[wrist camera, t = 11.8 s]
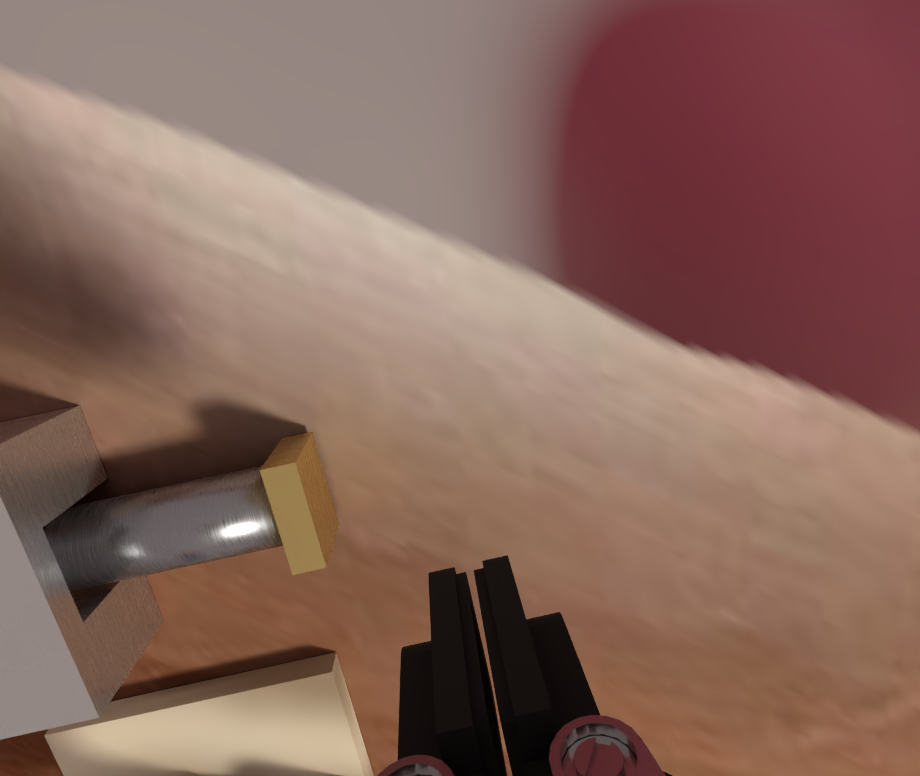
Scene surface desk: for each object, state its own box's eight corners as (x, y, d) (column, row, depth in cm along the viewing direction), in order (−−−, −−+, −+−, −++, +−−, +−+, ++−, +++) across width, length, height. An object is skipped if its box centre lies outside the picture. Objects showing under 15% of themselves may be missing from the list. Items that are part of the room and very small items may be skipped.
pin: (339, 524, 23) (326, 567, 20) (112, 572, 23) (65, 624, 20) (312, 431, 22) (295, 462, 19) (75, 482, 22) (19, 521, 19)
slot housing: (163, 621, 24) (99, 717, 19) (20, 653, 24) (-80, 757, 19) (79, 405, 22) (-19, 453, 17) (-80, 439, 22) (-225, 496, 17)
